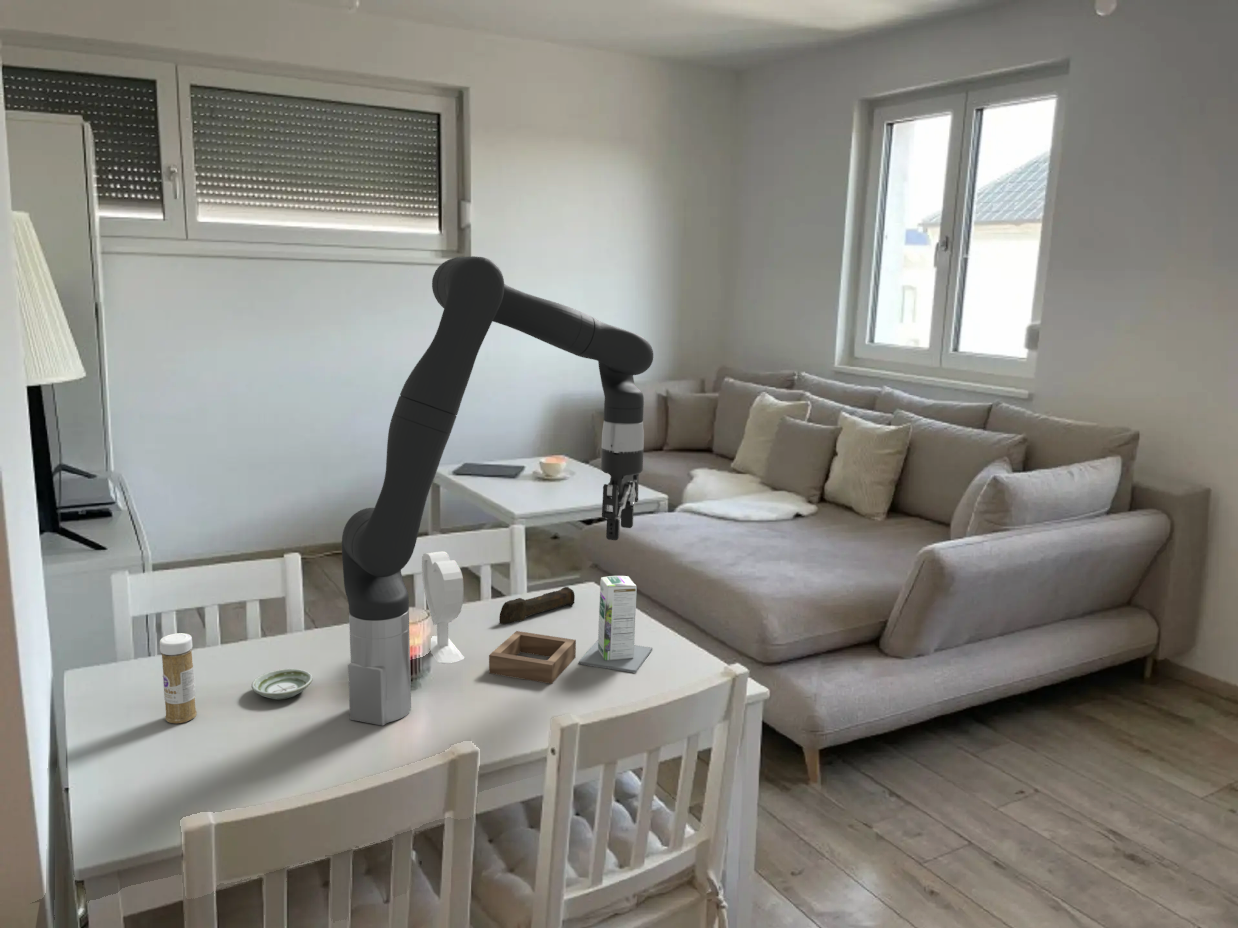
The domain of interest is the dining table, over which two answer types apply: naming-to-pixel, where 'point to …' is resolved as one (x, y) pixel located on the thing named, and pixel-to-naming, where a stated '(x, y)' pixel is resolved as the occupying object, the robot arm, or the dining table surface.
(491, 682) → the dining table surface
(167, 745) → the dining table surface
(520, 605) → the hand tool
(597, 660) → the mat
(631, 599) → the white drink carton
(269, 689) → the saucer
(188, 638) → the sprinkles bottle
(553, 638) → the collar
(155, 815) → the dining table surface
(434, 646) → the heart sculpture
